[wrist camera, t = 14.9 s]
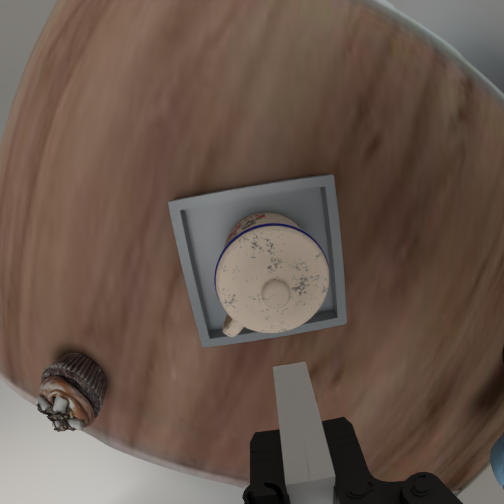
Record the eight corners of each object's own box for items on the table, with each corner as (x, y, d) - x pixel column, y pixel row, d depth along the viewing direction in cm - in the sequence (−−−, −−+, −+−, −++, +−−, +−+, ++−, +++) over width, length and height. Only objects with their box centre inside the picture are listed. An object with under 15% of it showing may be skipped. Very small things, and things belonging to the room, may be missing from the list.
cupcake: (125, 389, 38) (102, 438, 29) (85, 405, 39) (60, 447, 30) (82, 337, 36) (47, 379, 27) (45, 358, 37) (12, 396, 28)
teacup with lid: (252, 191, 31) (256, 204, 20) (325, 239, 32) (365, 275, 21) (192, 288, 33) (169, 344, 22) (263, 327, 35) (271, 394, 24)
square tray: (325, 174, 32) (333, 174, 29) (339, 312, 36) (346, 323, 33) (174, 199, 32) (167, 202, 29) (205, 334, 36) (202, 347, 33)
